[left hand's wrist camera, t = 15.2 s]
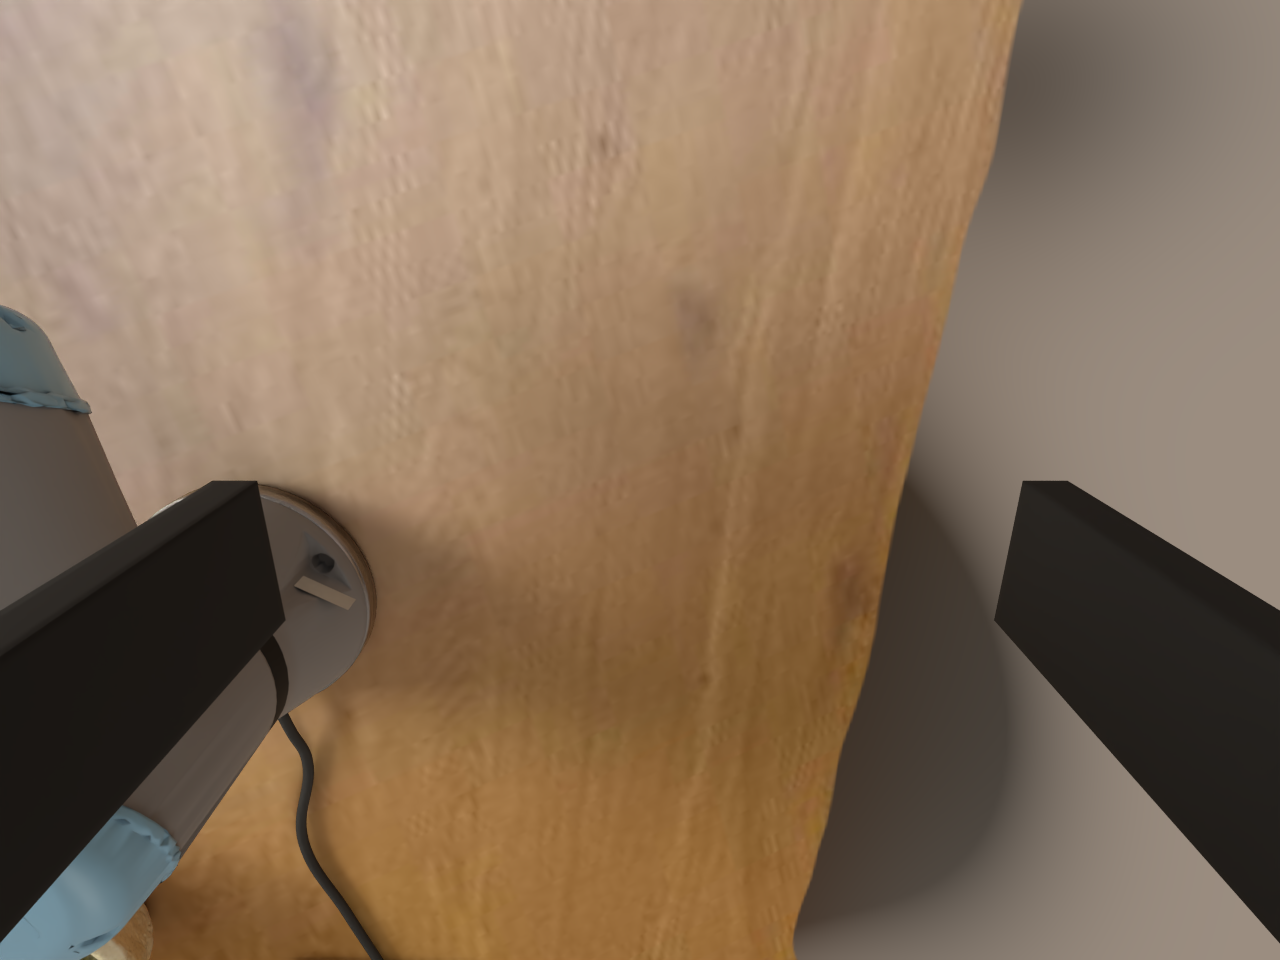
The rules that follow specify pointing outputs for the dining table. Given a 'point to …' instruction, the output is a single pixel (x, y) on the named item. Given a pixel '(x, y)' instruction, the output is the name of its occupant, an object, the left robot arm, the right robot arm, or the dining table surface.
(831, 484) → the dining table surface
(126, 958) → the bowl
